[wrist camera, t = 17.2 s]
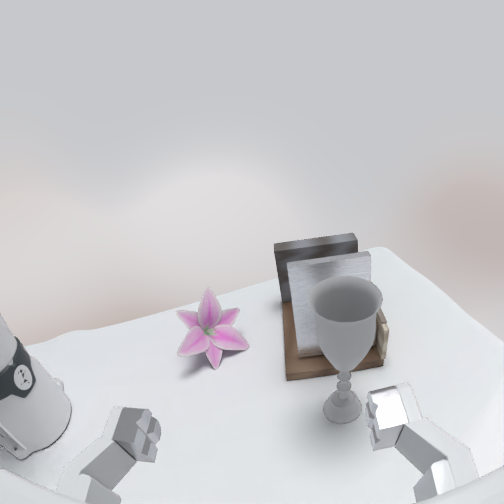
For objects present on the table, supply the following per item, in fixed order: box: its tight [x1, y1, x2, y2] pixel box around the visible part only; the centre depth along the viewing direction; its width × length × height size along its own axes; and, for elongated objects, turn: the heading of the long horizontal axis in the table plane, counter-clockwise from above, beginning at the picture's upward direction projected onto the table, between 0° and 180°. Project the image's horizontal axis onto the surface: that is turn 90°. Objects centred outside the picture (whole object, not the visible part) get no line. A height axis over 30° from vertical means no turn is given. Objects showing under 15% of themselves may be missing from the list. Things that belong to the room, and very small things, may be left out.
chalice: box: [308, 276, 383, 424], centre depth 31 cm, size 7×7×18 cm
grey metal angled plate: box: [287, 251, 377, 358], centre depth 43 cm, size 11×9×15 cm
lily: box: [175, 286, 249, 370], centre depth 49 cm, size 12×12×10 cm
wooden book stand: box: [274, 233, 389, 381], centre depth 47 cm, size 14×20×12 cm
